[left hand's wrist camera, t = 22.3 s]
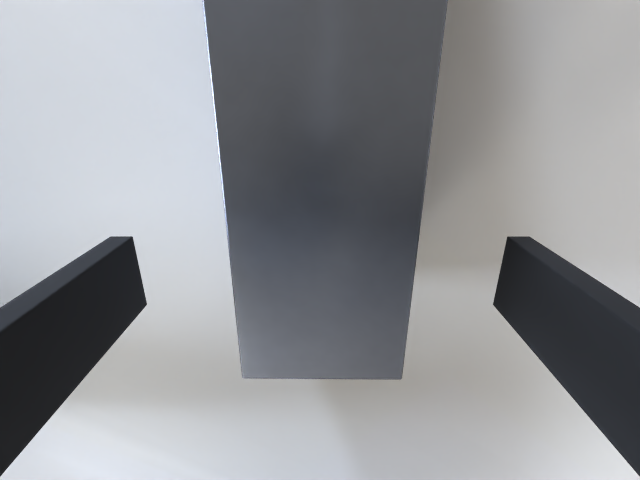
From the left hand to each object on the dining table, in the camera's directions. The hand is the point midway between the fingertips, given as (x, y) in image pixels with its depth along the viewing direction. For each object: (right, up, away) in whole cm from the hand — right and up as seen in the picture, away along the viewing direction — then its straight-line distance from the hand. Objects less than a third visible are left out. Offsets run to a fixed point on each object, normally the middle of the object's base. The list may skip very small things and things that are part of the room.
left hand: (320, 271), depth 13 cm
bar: (0, +12, +1) cm, 12 cm away
